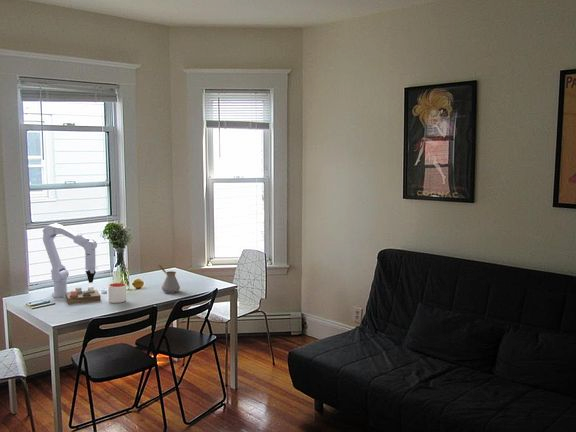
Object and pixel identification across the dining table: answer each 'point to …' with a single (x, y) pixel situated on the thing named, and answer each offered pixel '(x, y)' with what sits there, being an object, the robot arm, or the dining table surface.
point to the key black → (86, 293)
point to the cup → (117, 292)
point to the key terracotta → (73, 294)
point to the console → (83, 298)
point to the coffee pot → (170, 282)
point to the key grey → (78, 290)
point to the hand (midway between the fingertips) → (90, 282)
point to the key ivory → (91, 289)
